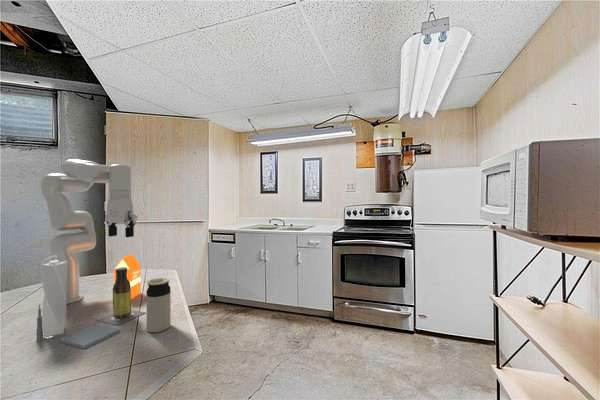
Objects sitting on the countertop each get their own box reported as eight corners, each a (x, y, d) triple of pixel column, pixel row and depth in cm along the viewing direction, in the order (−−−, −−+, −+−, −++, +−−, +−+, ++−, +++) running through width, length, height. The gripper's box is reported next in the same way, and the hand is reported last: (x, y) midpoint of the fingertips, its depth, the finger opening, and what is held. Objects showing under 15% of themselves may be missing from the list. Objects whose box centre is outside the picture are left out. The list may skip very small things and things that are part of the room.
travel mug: (146, 335, 96) (146, 285, 96) (147, 325, 103) (146, 279, 103) (170, 330, 100) (170, 281, 100) (170, 321, 107) (170, 276, 107)
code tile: (96, 320, 107) (96, 319, 107) (125, 308, 119) (125, 308, 119) (118, 325, 103) (118, 324, 103) (145, 312, 115) (145, 312, 115)
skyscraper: (39, 332, 98) (39, 256, 98) (69, 326, 103) (68, 253, 103) (35, 342, 92) (35, 260, 91) (67, 335, 96) (66, 257, 96)
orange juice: (140, 293, 138) (140, 254, 138) (130, 299, 129) (130, 258, 129) (125, 293, 138) (125, 254, 137) (113, 299, 129) (113, 258, 129)
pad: (60, 342, 92) (60, 339, 92) (97, 326, 103) (97, 323, 103) (84, 348, 87) (84, 345, 87) (120, 331, 99) (120, 328, 99)
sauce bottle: (118, 312, 114) (118, 266, 114) (134, 312, 114) (134, 265, 114) (109, 319, 107) (108, 270, 107) (125, 319, 108) (125, 270, 108)
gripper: (96, 195, 110) (97, 237, 110) (126, 194, 104) (127, 238, 104) (114, 195, 117) (115, 234, 117) (144, 194, 111) (144, 236, 111)
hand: (121, 236), depth 111 cm, fingers open, 9 cm apart
